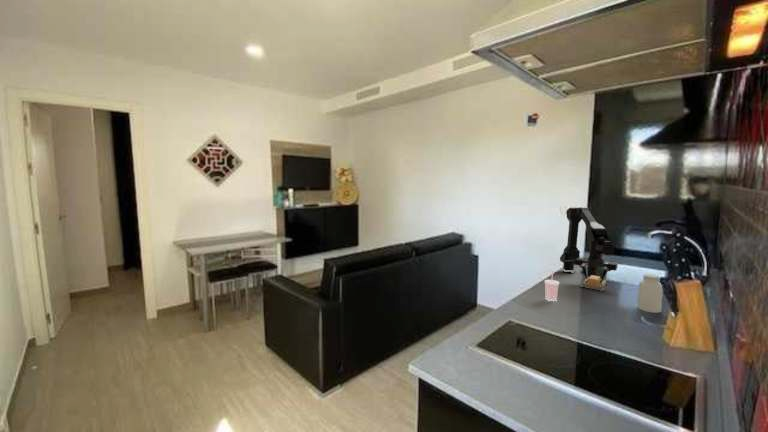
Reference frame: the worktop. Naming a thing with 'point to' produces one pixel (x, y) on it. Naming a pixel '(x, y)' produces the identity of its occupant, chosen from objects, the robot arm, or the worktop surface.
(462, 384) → the worktop surface
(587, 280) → the board
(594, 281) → the ochre bar
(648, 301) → the pill bottle
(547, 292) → the beverage cup
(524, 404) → the worktop surface
